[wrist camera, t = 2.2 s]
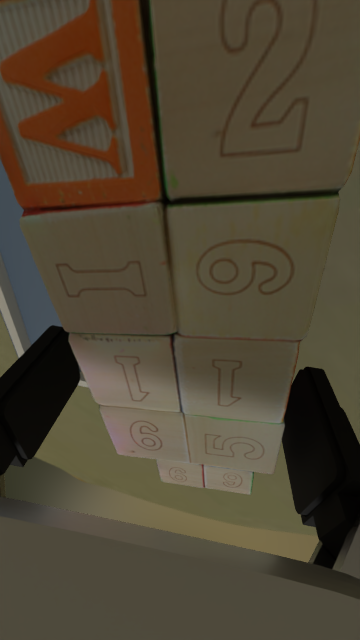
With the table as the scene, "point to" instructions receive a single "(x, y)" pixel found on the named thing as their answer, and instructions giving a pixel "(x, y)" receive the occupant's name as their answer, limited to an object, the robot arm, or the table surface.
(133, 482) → the table surface
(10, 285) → the shallow rectangular tray
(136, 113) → the stack of blocks
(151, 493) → the table surface
